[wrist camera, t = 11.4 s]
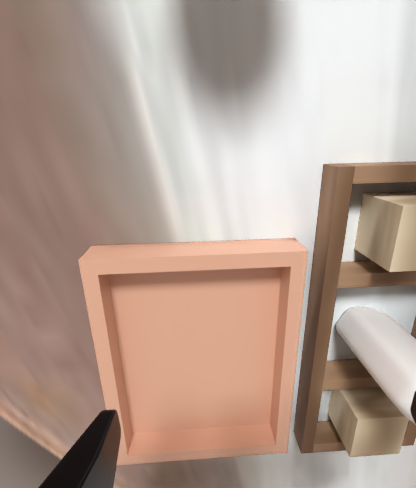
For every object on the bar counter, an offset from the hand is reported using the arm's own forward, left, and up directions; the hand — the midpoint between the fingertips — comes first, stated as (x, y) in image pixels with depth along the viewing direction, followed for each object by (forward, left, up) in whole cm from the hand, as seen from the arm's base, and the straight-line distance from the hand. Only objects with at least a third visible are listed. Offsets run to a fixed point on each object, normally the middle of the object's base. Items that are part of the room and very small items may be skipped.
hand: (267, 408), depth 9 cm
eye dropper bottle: (-12, +7, -13) cm, 19 cm away
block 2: (-12, +14, -13) cm, 22 cm away
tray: (+2, +8, -13) cm, 15 cm away
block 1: (-12, -2, -13) cm, 17 cm away
